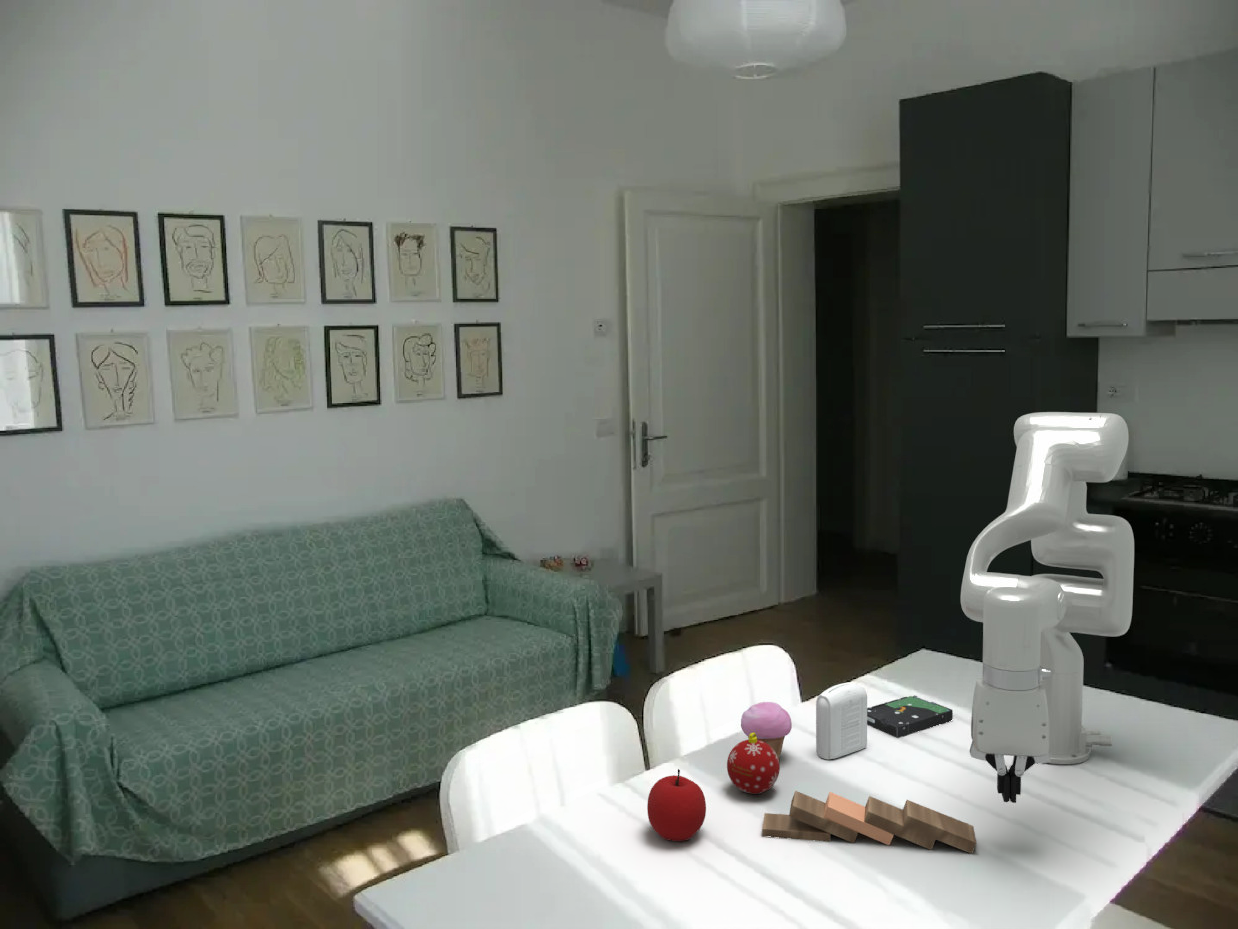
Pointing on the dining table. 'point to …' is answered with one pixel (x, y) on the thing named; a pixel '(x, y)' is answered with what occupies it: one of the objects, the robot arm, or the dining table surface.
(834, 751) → the photo printer
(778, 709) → the cupcake
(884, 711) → the disk drive
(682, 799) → the apple
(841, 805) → the domino
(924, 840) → the domino
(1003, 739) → the robot arm
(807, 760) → the dining table surface
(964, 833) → the domino
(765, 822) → the domino
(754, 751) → the christmas ornament
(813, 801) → the domino
